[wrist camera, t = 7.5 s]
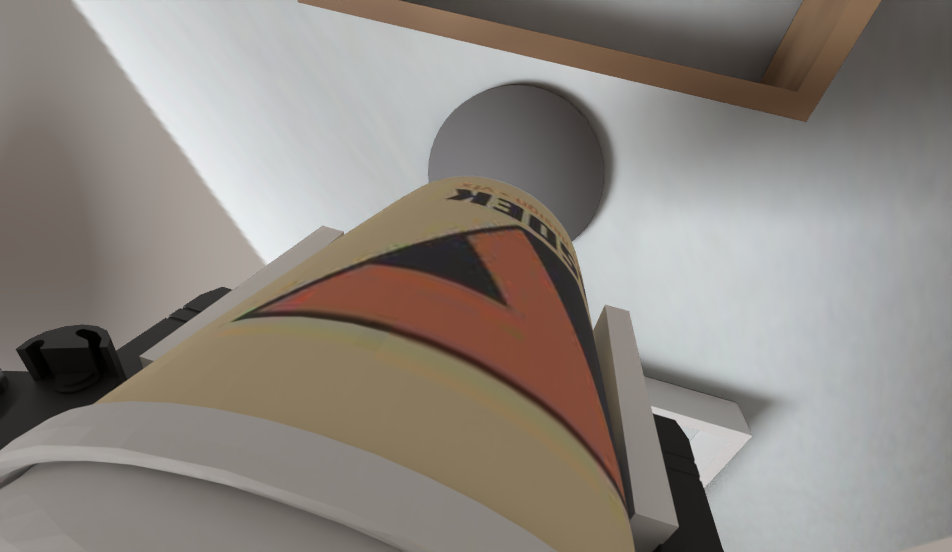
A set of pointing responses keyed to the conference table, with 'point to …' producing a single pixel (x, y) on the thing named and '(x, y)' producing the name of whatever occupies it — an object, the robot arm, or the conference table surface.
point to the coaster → (525, 150)
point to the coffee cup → (355, 407)
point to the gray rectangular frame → (702, 424)
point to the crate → (779, 92)
